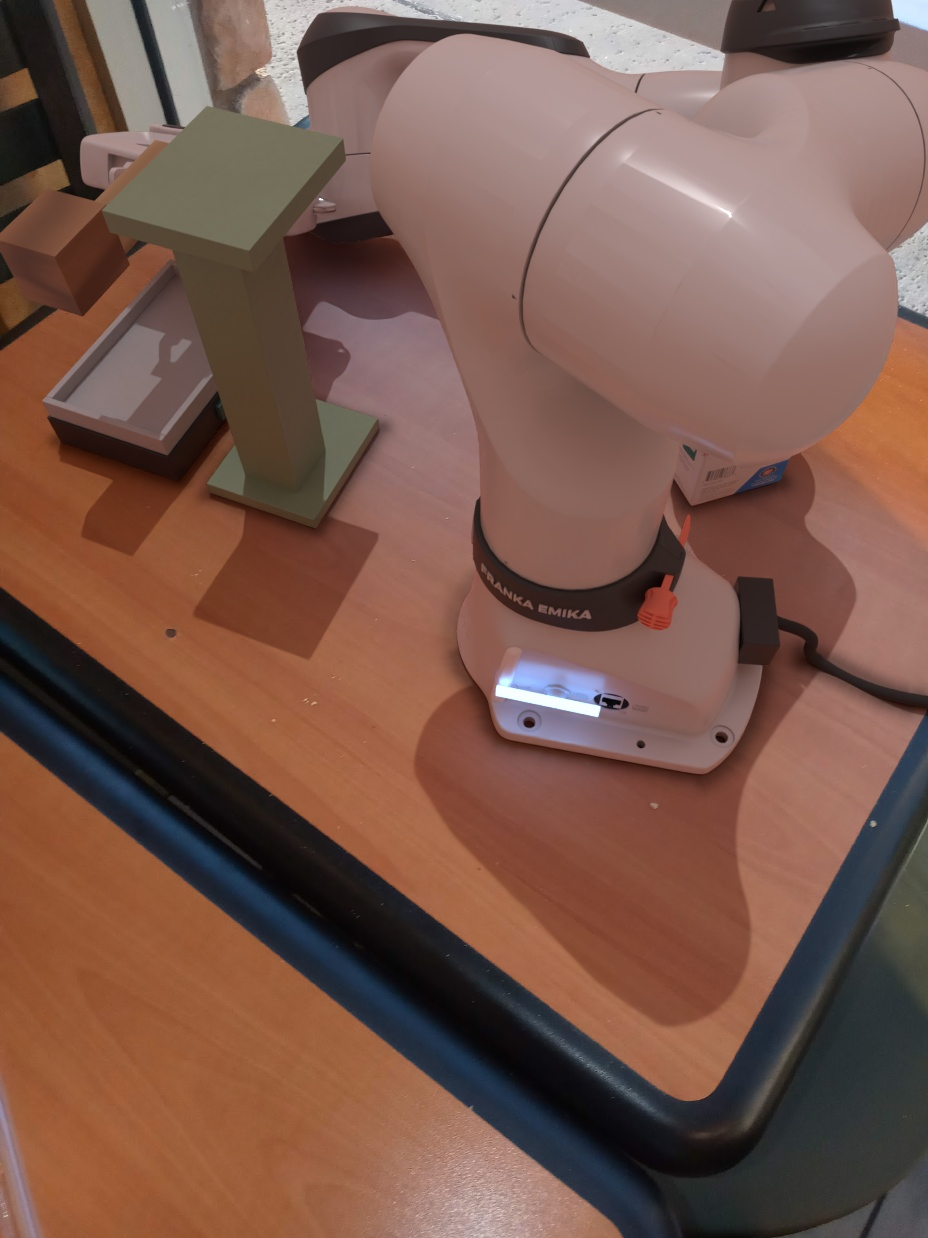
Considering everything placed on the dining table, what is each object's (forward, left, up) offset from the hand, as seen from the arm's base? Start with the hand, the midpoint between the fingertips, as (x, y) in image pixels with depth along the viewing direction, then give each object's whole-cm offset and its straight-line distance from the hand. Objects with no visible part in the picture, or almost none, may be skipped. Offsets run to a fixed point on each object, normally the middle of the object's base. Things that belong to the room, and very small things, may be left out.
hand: (140, 188), depth 69 cm
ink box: (-48, -5, -18) cm, 51 cm away
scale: (0, +3, -17) cm, 18 cm away
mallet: (0, +4, -2) cm, 4 cm away
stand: (-14, +7, -17) cm, 23 cm away
